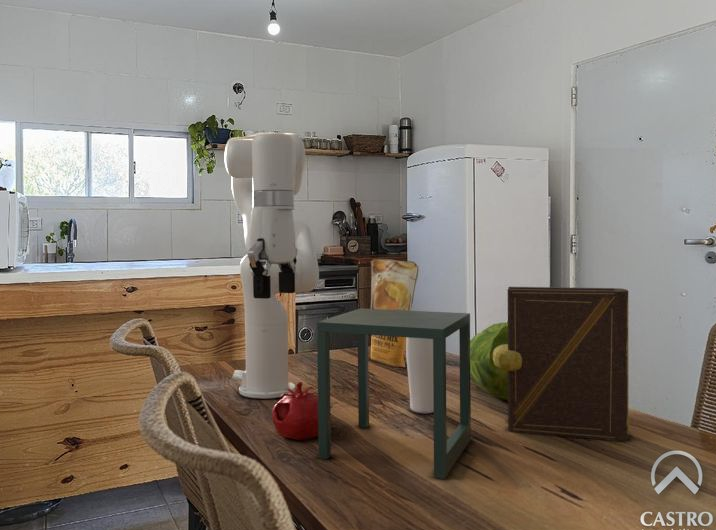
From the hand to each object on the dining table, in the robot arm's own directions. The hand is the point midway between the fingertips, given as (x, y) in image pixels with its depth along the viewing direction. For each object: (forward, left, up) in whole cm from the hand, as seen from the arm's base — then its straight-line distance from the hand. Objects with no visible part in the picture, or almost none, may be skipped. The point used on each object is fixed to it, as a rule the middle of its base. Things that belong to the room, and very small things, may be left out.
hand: (275, 295), depth 109 cm
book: (+47, +18, -24) cm, 56 cm away
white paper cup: (+22, +20, -24) cm, 38 cm away
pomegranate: (+6, -2, -24) cm, 25 cm away
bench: (+24, -2, -24) cm, 34 cm away
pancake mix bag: (+1, +60, -24) cm, 64 cm away
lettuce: (+34, +38, -24) cm, 56 cm away
